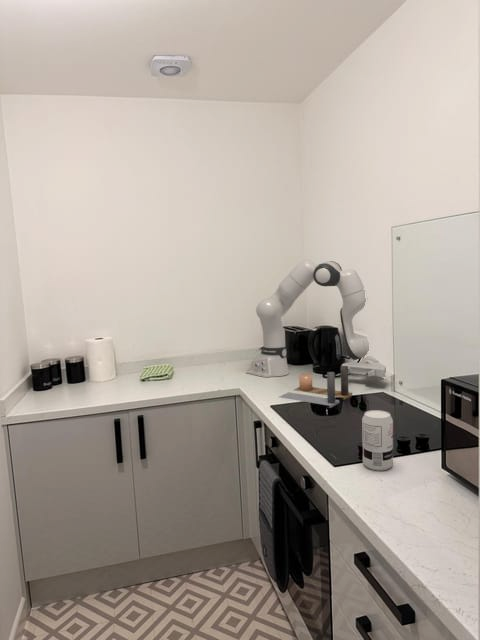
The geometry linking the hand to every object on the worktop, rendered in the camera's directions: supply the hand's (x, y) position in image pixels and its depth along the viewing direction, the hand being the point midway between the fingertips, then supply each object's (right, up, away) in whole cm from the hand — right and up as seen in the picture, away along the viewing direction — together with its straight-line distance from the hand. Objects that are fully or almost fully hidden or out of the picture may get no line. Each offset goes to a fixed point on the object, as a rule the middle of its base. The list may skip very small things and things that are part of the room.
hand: (357, 373), depth 212 cm
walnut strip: (-15, -9, -2) cm, 18 cm away
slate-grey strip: (-23, -10, -11) cm, 27 cm away
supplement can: (-12, -18, -74) cm, 77 cm away
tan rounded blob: (-22, -7, +3) cm, 23 cm away
